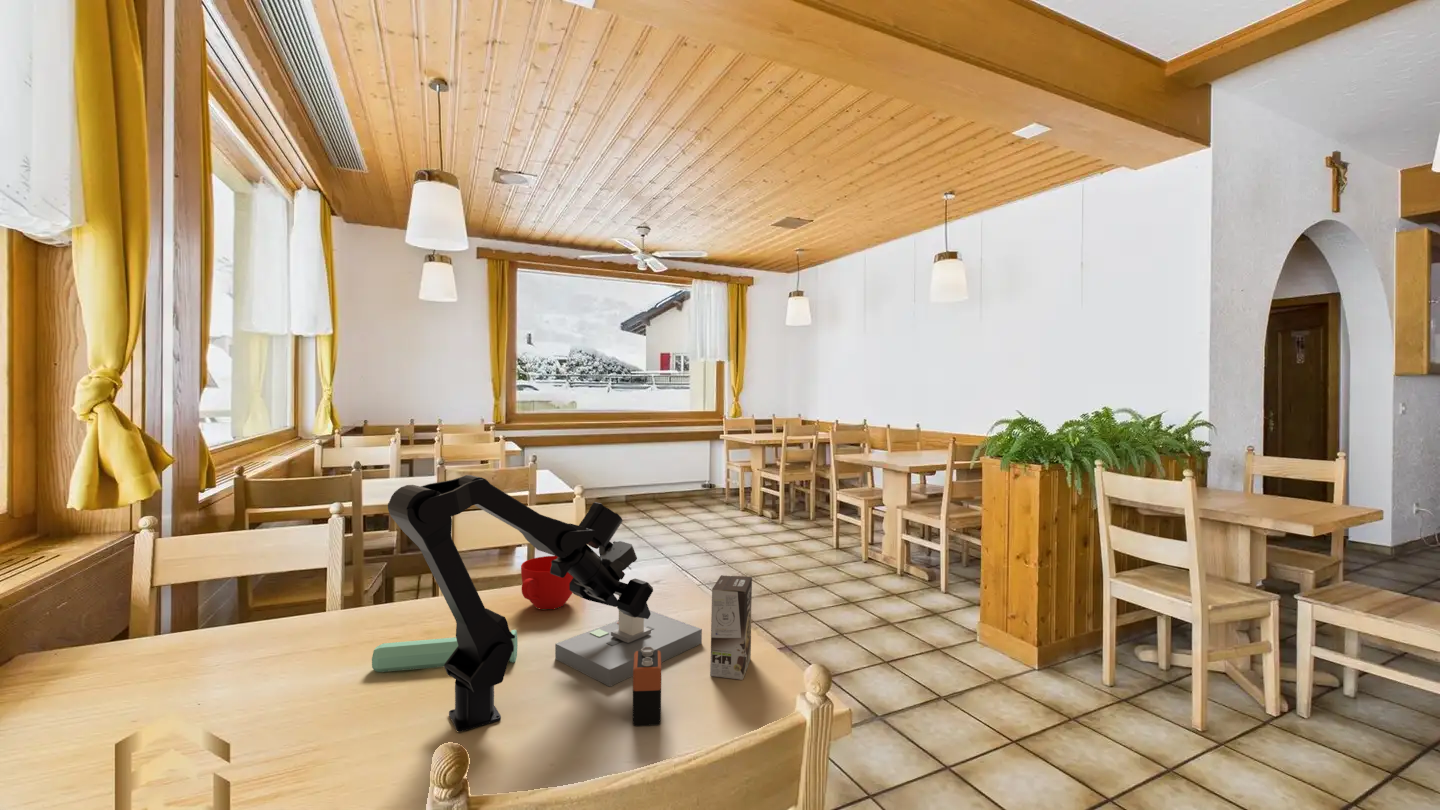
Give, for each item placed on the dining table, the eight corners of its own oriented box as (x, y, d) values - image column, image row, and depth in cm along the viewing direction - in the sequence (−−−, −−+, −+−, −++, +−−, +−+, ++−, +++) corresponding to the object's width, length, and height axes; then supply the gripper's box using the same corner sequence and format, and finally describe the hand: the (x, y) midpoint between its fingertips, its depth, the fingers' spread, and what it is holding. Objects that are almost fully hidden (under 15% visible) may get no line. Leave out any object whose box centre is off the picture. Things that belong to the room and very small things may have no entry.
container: (368, 641, 111) (514, 629, 116) (379, 641, 116) (517, 629, 121) (365, 677, 109) (513, 663, 114) (375, 675, 114) (517, 662, 119)
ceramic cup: (498, 617, 138) (498, 573, 138) (541, 593, 154) (541, 553, 154) (549, 625, 134) (549, 579, 134) (587, 599, 150) (587, 558, 150)
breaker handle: (627, 642, 118) (628, 594, 118) (610, 635, 121) (611, 588, 121) (650, 633, 122) (651, 587, 122) (633, 626, 126) (634, 581, 125)
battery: (660, 703, 102) (660, 644, 102) (660, 726, 96) (661, 662, 95) (633, 704, 102) (634, 644, 102) (632, 727, 95) (633, 663, 95)
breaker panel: (609, 686, 108) (609, 668, 107) (555, 659, 118) (555, 642, 118) (701, 643, 126) (701, 628, 126) (647, 622, 136) (647, 608, 136)
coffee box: (744, 680, 111) (745, 591, 110) (709, 676, 112) (710, 588, 111) (751, 658, 119) (753, 576, 119) (719, 655, 121) (720, 573, 120)
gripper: (645, 540, 111) (687, 585, 120) (581, 523, 123) (623, 565, 132) (611, 594, 105) (657, 638, 114) (547, 571, 117) (594, 612, 126)
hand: (632, 610), depth 122 cm, fingers open, 9 cm apart
